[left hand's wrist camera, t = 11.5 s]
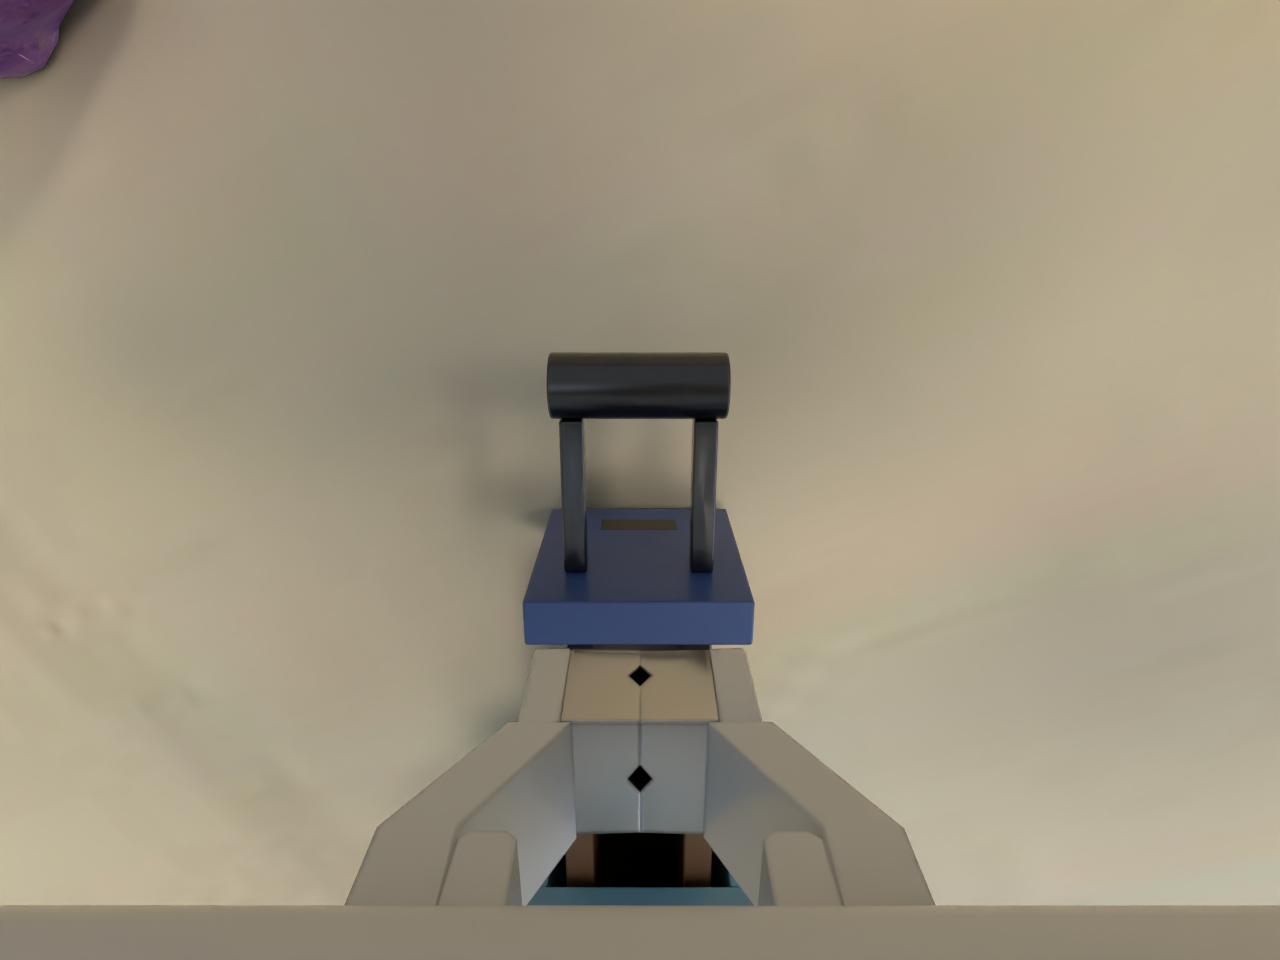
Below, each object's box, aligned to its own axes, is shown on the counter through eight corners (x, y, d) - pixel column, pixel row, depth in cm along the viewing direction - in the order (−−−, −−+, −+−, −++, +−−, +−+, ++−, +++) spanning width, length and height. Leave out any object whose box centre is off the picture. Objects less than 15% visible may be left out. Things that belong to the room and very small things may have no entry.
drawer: (544, 329, 22) (508, 366, 16) (733, 329, 22) (768, 366, 16) (569, 956, 30) (552, 1137, 24) (708, 956, 30) (724, 1137, 24)
